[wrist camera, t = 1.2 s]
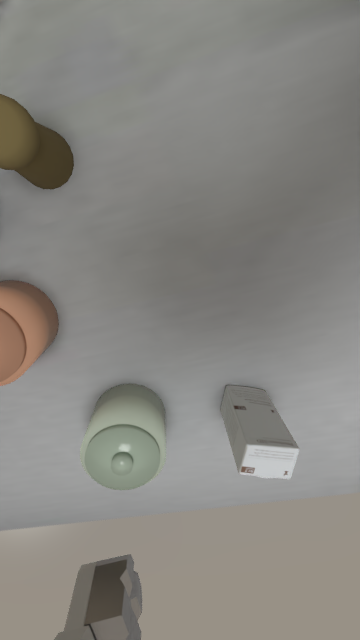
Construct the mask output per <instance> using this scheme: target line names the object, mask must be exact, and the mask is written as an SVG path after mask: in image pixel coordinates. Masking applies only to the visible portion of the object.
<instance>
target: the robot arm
mask: <svg viewBox="0 0 360 640" xmlns="http://www.w3.org/2000/svg"><path fill="white" fill-rule="evenodd" d="M133 568H134V561H133V558H132V556H131V554H129V555H124V556H120V557H115V558H110V559H106V560H101V561H97V562H93V563H89V564H84V565H82V566H81V568H80V570H79V572H78V575H77V579H76V583H75V587H74V592H73V596H72V600H71V604H70V608H69V612H68V616H67V620H66V624H65V628H64V631H63V632H60V633H58V635H57V636H56V637H55V639H54V640H141V630H140V627H139V624H138V618H139V617H140V615H141V613H142V590H141V583H140V579H139V576H138V573H137V572H135V571H134V569H133Z"/></svg>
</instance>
